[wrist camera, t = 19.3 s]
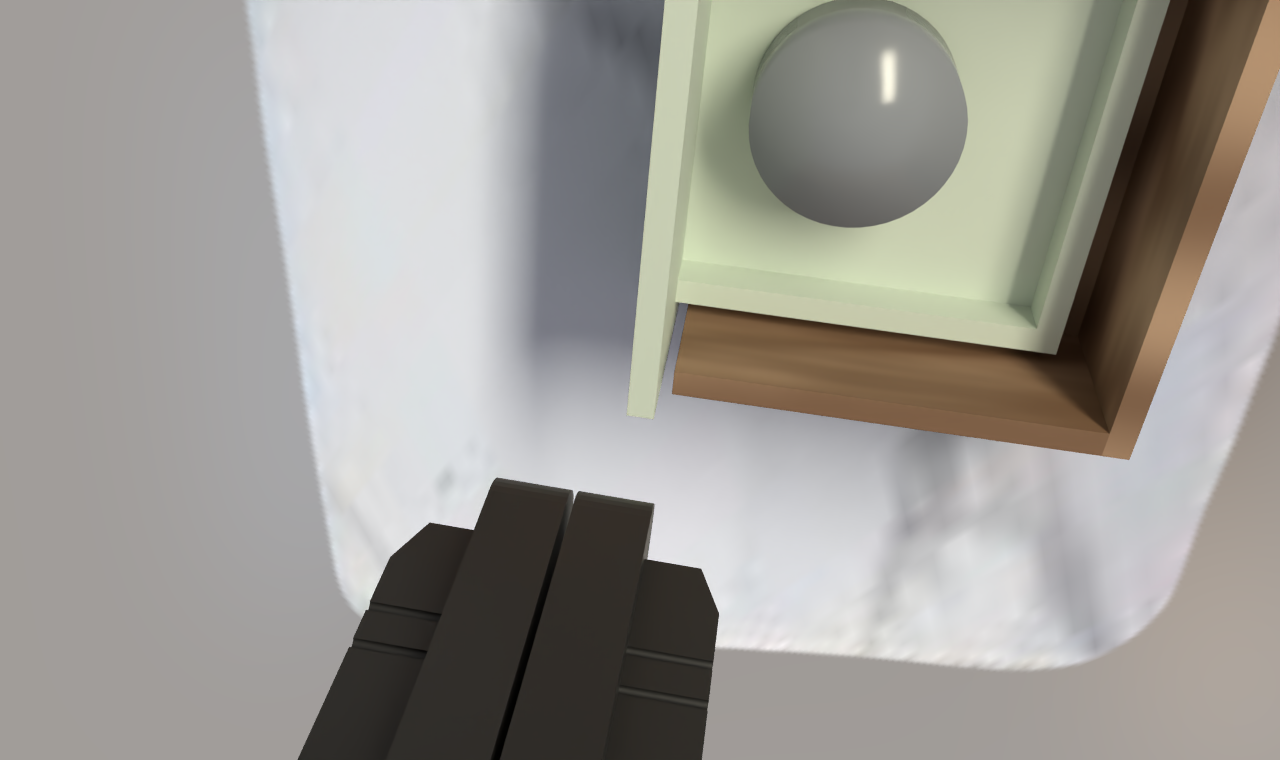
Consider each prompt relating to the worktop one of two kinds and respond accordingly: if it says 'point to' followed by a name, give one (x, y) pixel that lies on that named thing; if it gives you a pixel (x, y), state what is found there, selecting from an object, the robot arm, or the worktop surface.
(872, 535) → the worktop surface
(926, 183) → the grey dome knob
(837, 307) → the tray
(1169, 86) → the cubby
